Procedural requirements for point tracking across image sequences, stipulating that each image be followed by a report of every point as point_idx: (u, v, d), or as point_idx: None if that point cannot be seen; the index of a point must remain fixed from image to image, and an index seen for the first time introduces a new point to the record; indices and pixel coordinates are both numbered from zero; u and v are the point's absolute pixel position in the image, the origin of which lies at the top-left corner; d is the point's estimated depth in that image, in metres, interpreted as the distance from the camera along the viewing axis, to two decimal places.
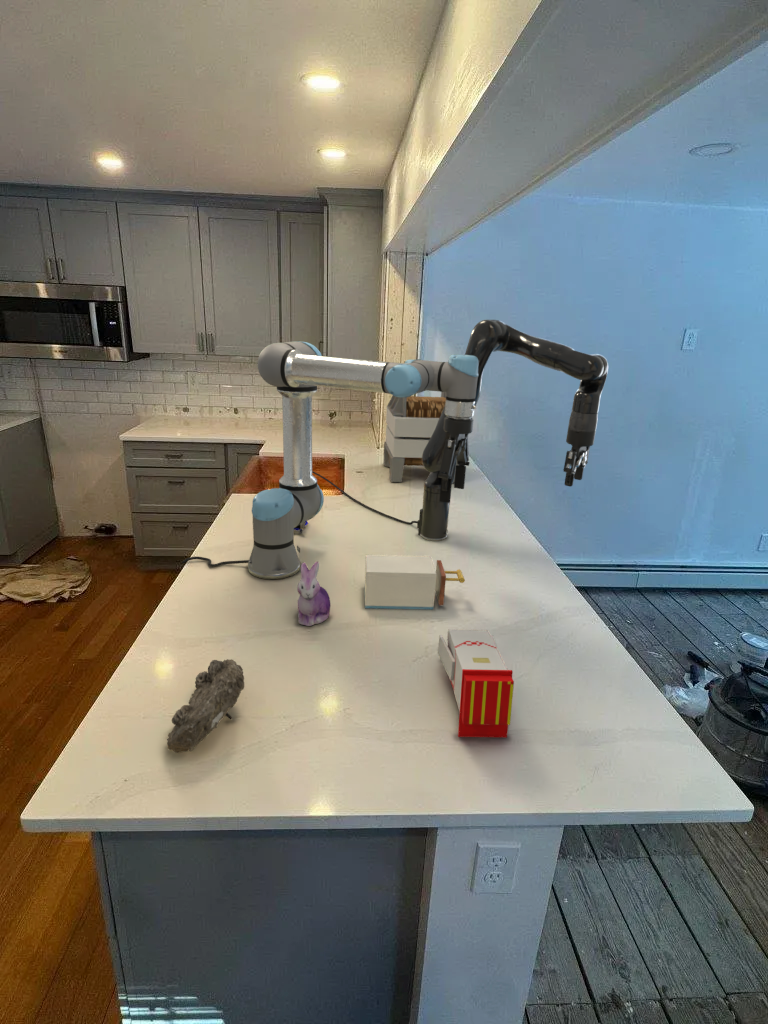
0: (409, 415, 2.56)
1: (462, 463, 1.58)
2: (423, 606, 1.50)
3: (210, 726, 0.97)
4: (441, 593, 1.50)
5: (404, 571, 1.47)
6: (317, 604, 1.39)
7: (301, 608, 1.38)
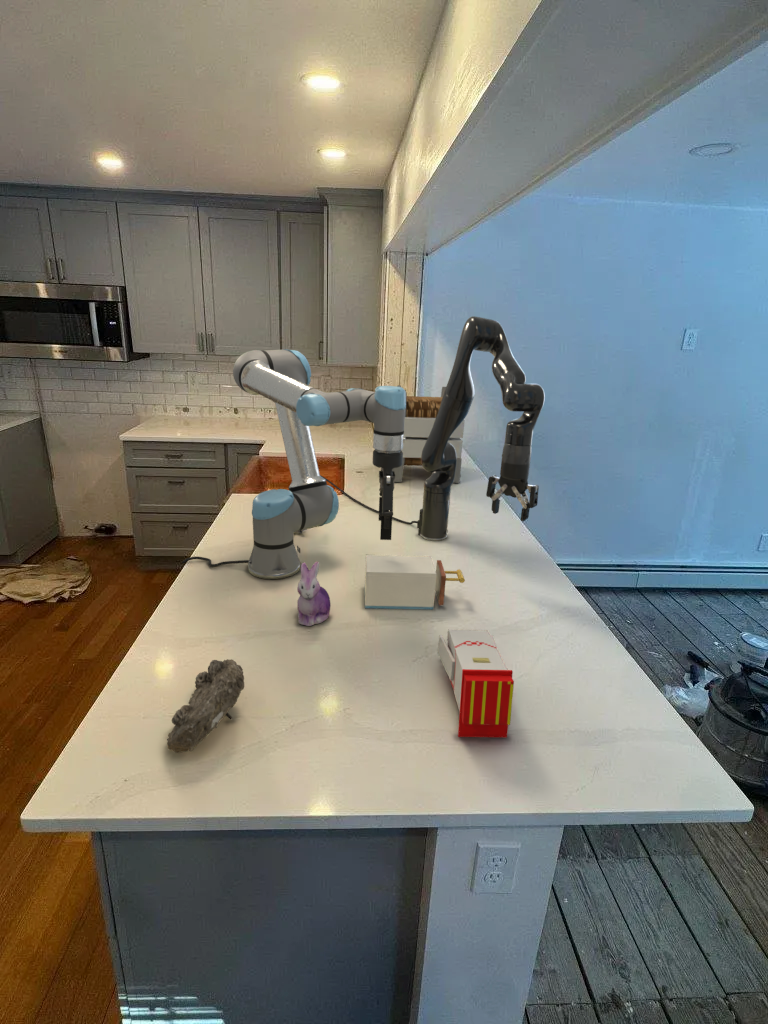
0: (409, 415, 2.56)
1: None
2: (423, 606, 1.50)
3: (210, 726, 0.97)
4: (441, 593, 1.50)
5: (404, 571, 1.47)
6: (317, 604, 1.39)
7: (301, 608, 1.38)
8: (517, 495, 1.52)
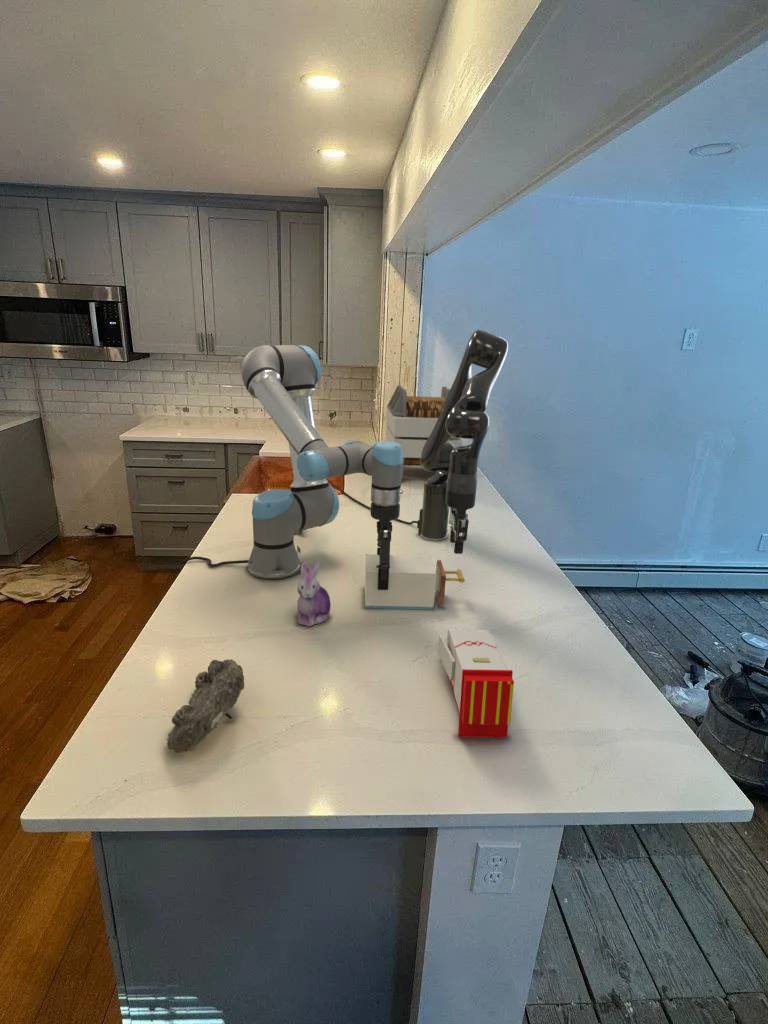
0: (409, 415, 2.56)
1: None
2: (423, 606, 1.50)
3: (210, 726, 0.97)
4: (441, 593, 1.50)
5: (404, 571, 1.47)
6: (317, 604, 1.39)
7: (301, 608, 1.38)
8: (453, 524, 1.46)
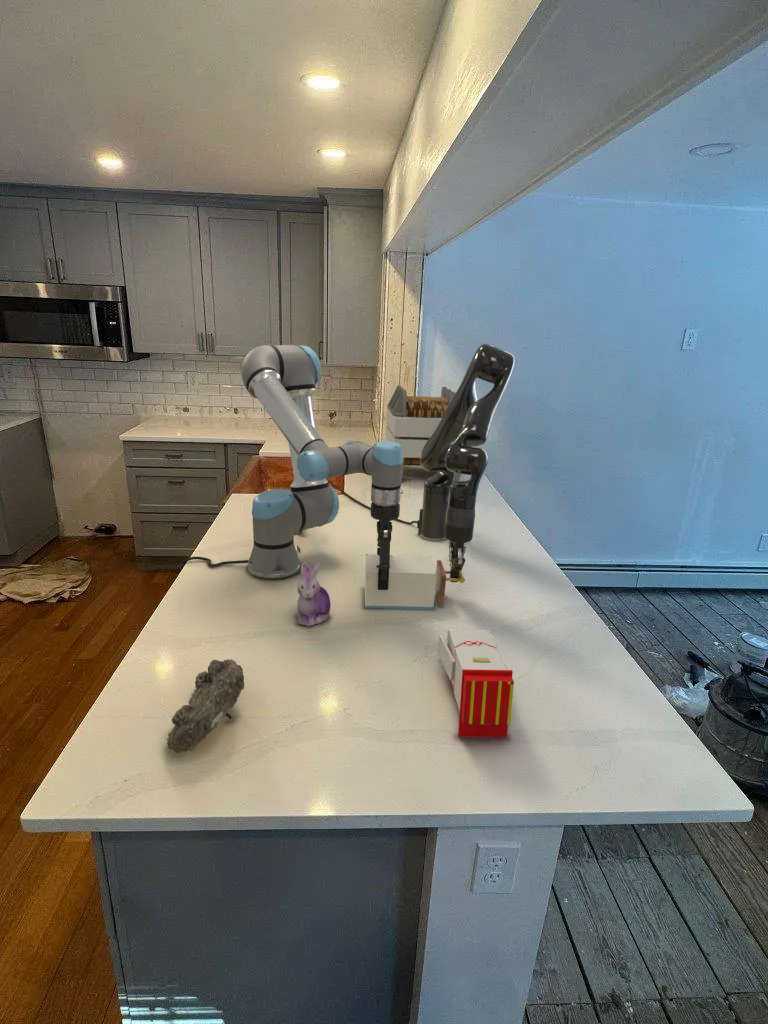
0: (409, 415, 2.56)
1: None
2: (423, 606, 1.50)
3: (210, 726, 0.97)
4: (441, 593, 1.50)
5: (404, 571, 1.47)
6: (317, 604, 1.39)
7: (301, 608, 1.38)
8: (450, 555, 1.50)
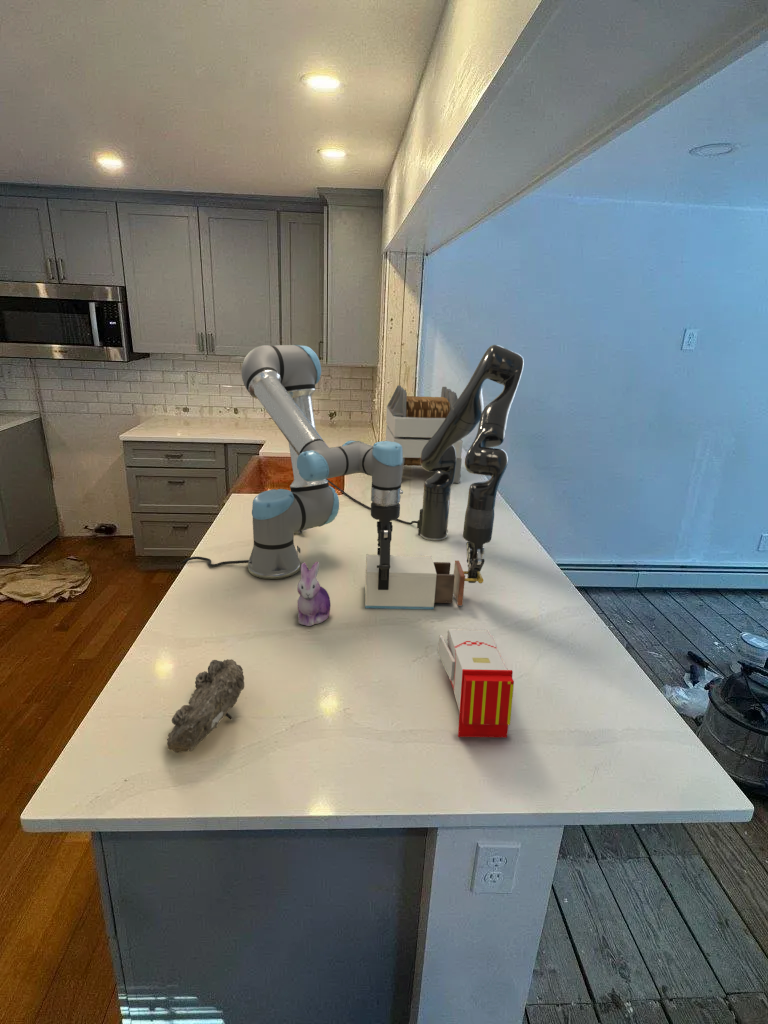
0: (409, 415, 2.56)
1: None
2: (423, 606, 1.50)
3: (210, 726, 0.97)
4: (460, 593, 1.50)
5: (404, 571, 1.47)
6: (317, 604, 1.39)
7: (301, 608, 1.38)
8: (469, 556, 1.51)
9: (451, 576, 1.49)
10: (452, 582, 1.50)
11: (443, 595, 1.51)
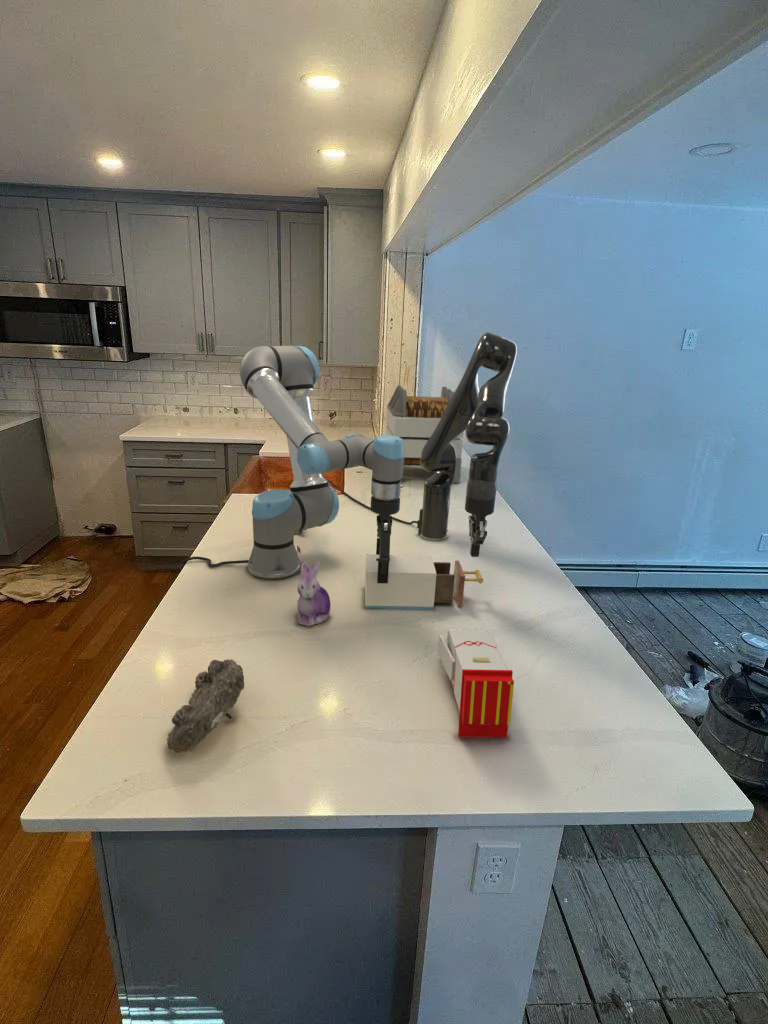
0: (409, 415, 2.56)
1: None
2: (423, 606, 1.50)
3: (210, 726, 0.97)
4: (460, 593, 1.50)
5: (404, 571, 1.47)
6: (317, 604, 1.39)
7: (301, 608, 1.38)
8: (471, 529, 1.48)
9: (451, 576, 1.49)
10: (452, 582, 1.50)
11: (443, 595, 1.51)
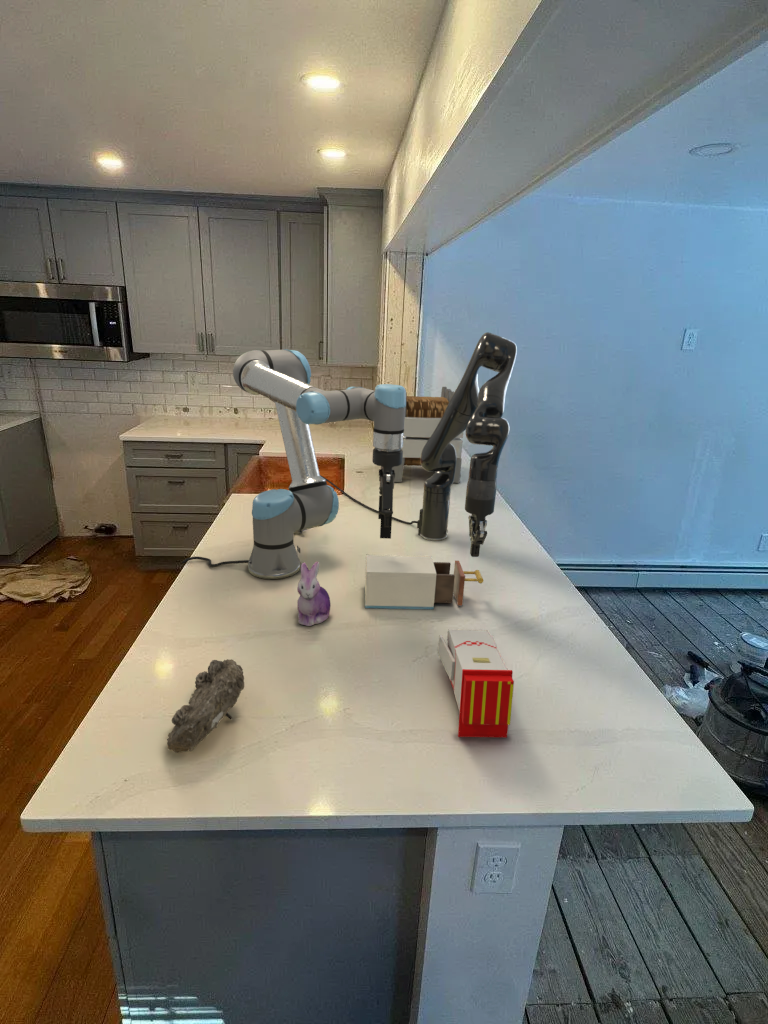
0: (409, 415, 2.56)
1: None
2: (423, 606, 1.50)
3: (210, 726, 0.97)
4: (460, 593, 1.50)
5: (404, 571, 1.47)
6: (317, 604, 1.39)
7: (301, 608, 1.38)
8: (471, 529, 1.48)
9: (451, 576, 1.49)
10: (452, 582, 1.50)
11: (443, 595, 1.51)
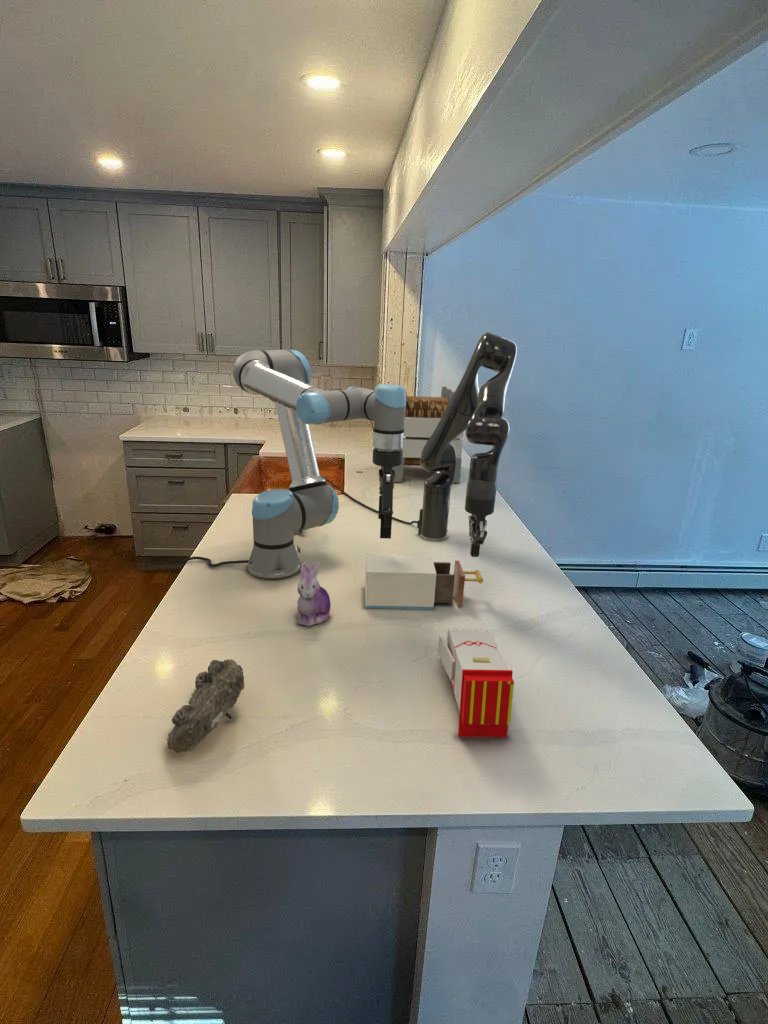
0: (409, 415, 2.56)
1: None
2: (423, 606, 1.50)
3: (210, 726, 0.97)
4: (460, 593, 1.50)
5: (404, 571, 1.47)
6: (317, 604, 1.39)
7: (301, 608, 1.38)
8: (471, 529, 1.48)
9: (451, 576, 1.49)
10: (452, 582, 1.50)
11: (443, 595, 1.51)
